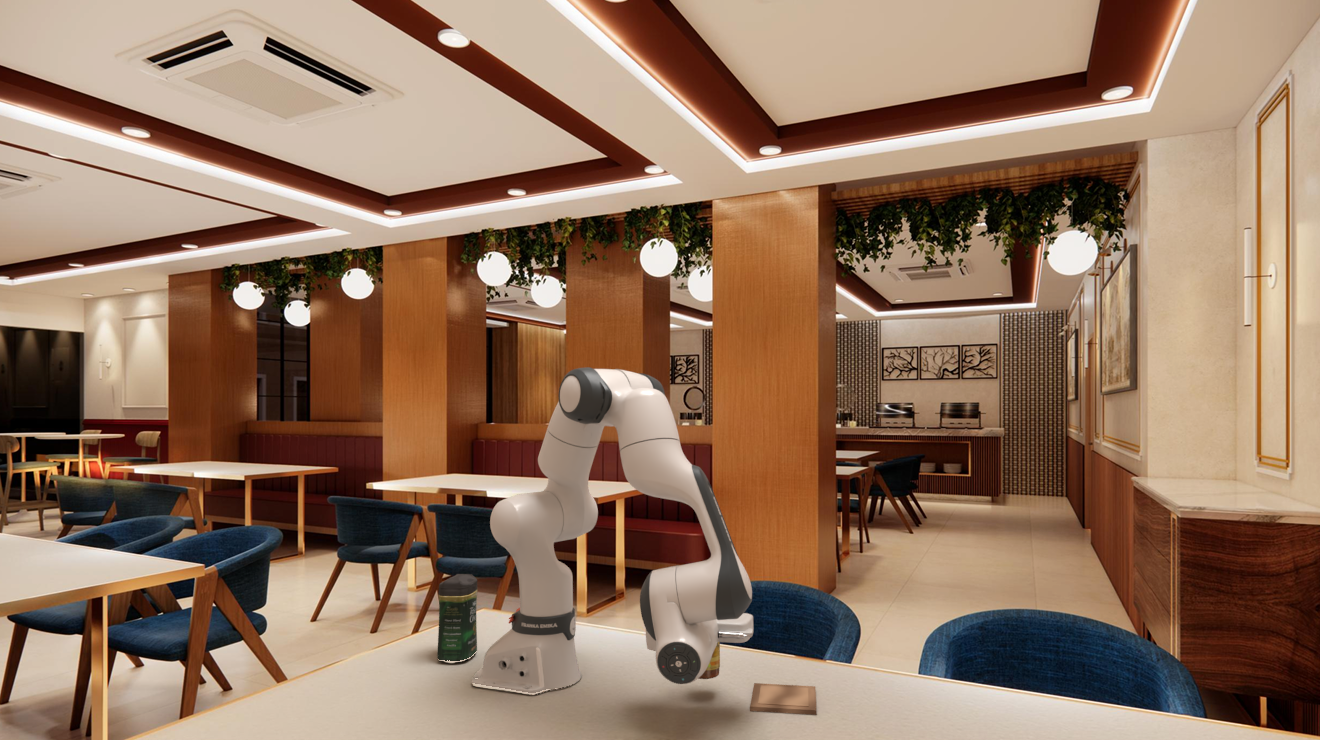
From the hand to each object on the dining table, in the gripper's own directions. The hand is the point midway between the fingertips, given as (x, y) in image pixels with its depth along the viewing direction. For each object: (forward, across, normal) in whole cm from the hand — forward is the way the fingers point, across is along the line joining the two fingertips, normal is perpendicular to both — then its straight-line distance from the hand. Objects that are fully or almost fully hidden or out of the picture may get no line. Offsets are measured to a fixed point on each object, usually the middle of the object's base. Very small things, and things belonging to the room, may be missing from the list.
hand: (703, 613), depth 144 cm
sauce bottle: (0, 0, +12) cm, 12 cm away
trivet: (0, -15, +15) cm, 22 cm away
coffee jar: (+13, +59, +16) cm, 62 cm away
